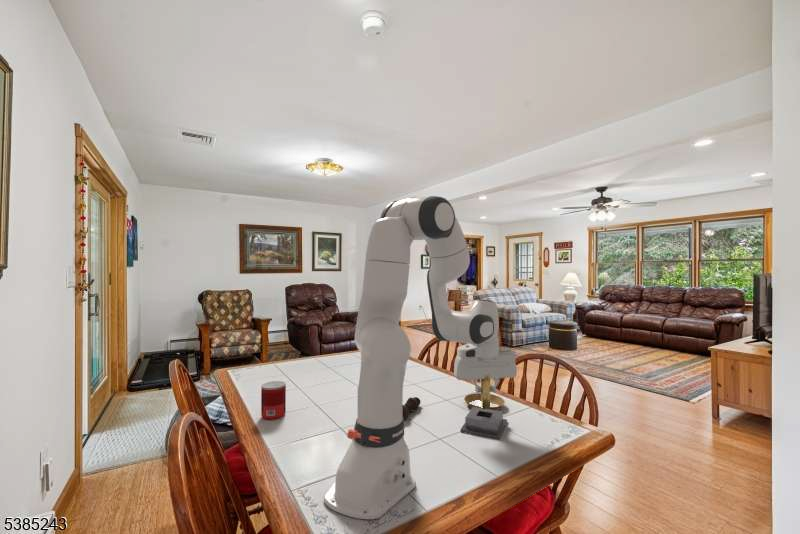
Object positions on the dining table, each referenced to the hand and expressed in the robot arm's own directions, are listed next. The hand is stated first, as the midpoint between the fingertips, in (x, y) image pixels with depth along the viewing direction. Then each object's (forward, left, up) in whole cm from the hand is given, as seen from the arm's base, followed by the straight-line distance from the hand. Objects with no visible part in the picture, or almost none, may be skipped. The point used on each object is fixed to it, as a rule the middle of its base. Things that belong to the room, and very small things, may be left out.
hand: (485, 391), depth 119 cm
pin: (0, 0, -5) cm, 5 cm away
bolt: (0, +27, -12) cm, 29 cm away
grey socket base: (0, 0, -11) cm, 11 cm away
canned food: (-23, +68, -12) cm, 73 cm away
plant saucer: (+18, +4, -12) cm, 22 cm away
